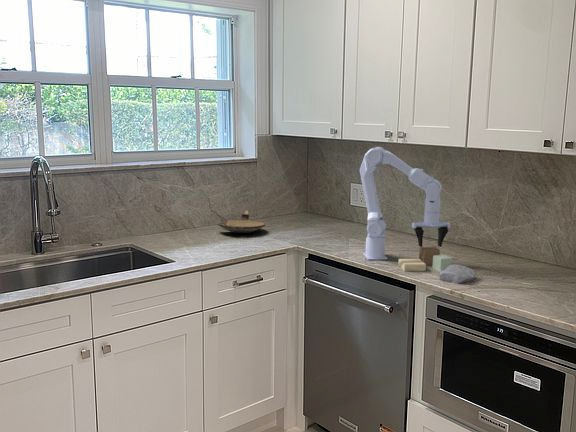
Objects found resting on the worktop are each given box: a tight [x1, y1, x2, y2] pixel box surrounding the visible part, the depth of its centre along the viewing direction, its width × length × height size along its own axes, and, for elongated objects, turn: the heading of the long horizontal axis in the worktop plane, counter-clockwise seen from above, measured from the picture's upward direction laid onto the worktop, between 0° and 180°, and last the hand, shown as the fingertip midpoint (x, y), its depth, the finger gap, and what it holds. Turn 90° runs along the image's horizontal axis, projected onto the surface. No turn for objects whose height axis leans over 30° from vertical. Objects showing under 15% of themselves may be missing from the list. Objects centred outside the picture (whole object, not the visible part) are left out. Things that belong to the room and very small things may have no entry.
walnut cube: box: [418, 246, 441, 266], centre depth 220 cm, size 6×6×6 cm
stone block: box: [439, 263, 476, 285], centre depth 200 cm, size 12×5×10 cm
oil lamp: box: [217, 210, 266, 234], centre depth 273 cm, size 22×30×8 cm
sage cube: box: [432, 254, 453, 272], centre depth 212 cm, size 5×5×5 cm
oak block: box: [397, 258, 427, 272], centre depth 213 cm, size 8×8×3 cm
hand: (430, 246), depth 220 cm, fingers open, 7 cm apart
